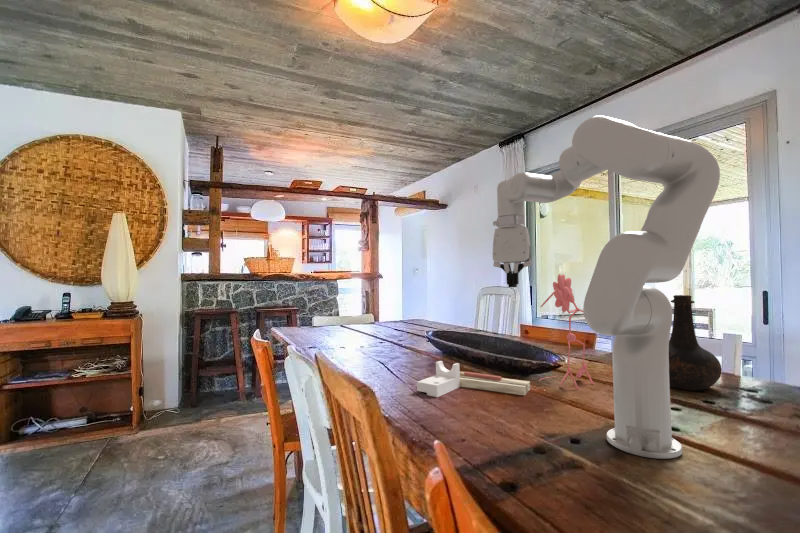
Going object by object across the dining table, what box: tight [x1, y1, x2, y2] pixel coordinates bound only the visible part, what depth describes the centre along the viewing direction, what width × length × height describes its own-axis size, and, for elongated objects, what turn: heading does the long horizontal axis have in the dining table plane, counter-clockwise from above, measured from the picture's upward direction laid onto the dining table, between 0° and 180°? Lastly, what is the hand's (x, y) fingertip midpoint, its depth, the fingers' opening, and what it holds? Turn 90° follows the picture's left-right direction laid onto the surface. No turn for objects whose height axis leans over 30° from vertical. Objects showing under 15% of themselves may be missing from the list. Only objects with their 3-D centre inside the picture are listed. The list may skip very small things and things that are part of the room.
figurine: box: [537, 273, 606, 390], centre depth 123 cm, size 15×26×35 cm, turn 127°
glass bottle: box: [669, 294, 723, 392], centre depth 117 cm, size 18×18×28 cm
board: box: [460, 374, 531, 396], centre depth 118 cm, size 7×24×2 cm, turn 59°
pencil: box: [460, 371, 503, 381], centre depth 121 cm, size 14×1×1 cm, turn 54°
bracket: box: [416, 360, 461, 398], centre depth 116 cm, size 13×7×8 cm, turn 142°
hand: (512, 287), depth 109 cm, fingers closed
